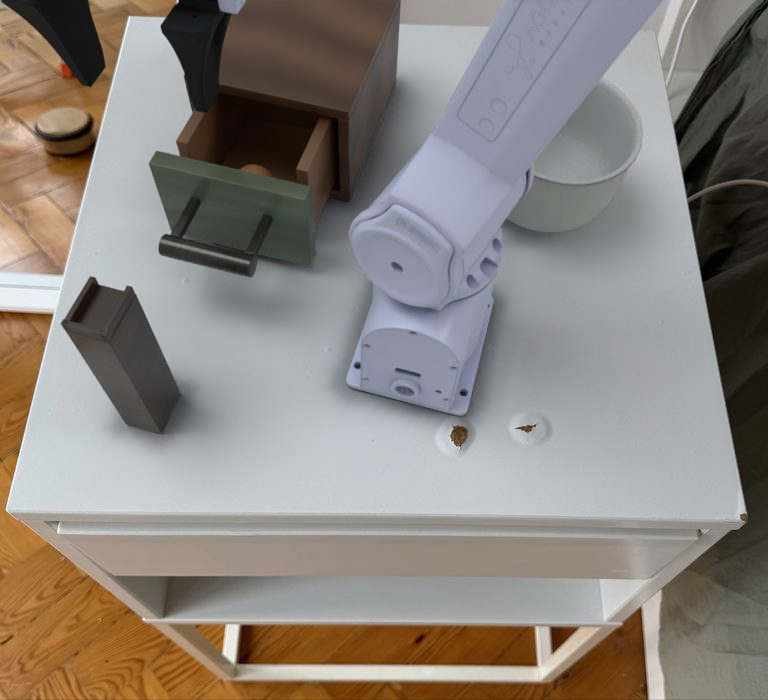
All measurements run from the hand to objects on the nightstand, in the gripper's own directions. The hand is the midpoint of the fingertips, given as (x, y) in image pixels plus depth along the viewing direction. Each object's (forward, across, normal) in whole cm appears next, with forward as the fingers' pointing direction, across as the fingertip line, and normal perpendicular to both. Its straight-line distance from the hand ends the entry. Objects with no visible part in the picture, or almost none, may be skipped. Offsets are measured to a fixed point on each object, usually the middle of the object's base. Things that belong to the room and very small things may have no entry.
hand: (150, 88), depth 45 cm
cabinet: (+10, -6, -10) cm, 16 cm away
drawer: (+10, -6, 0) cm, 11 cm away
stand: (+10, -5, +16) cm, 20 cm away
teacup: (+11, -24, -8) cm, 27 cm away
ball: (+7, -6, 0) cm, 9 cm away
